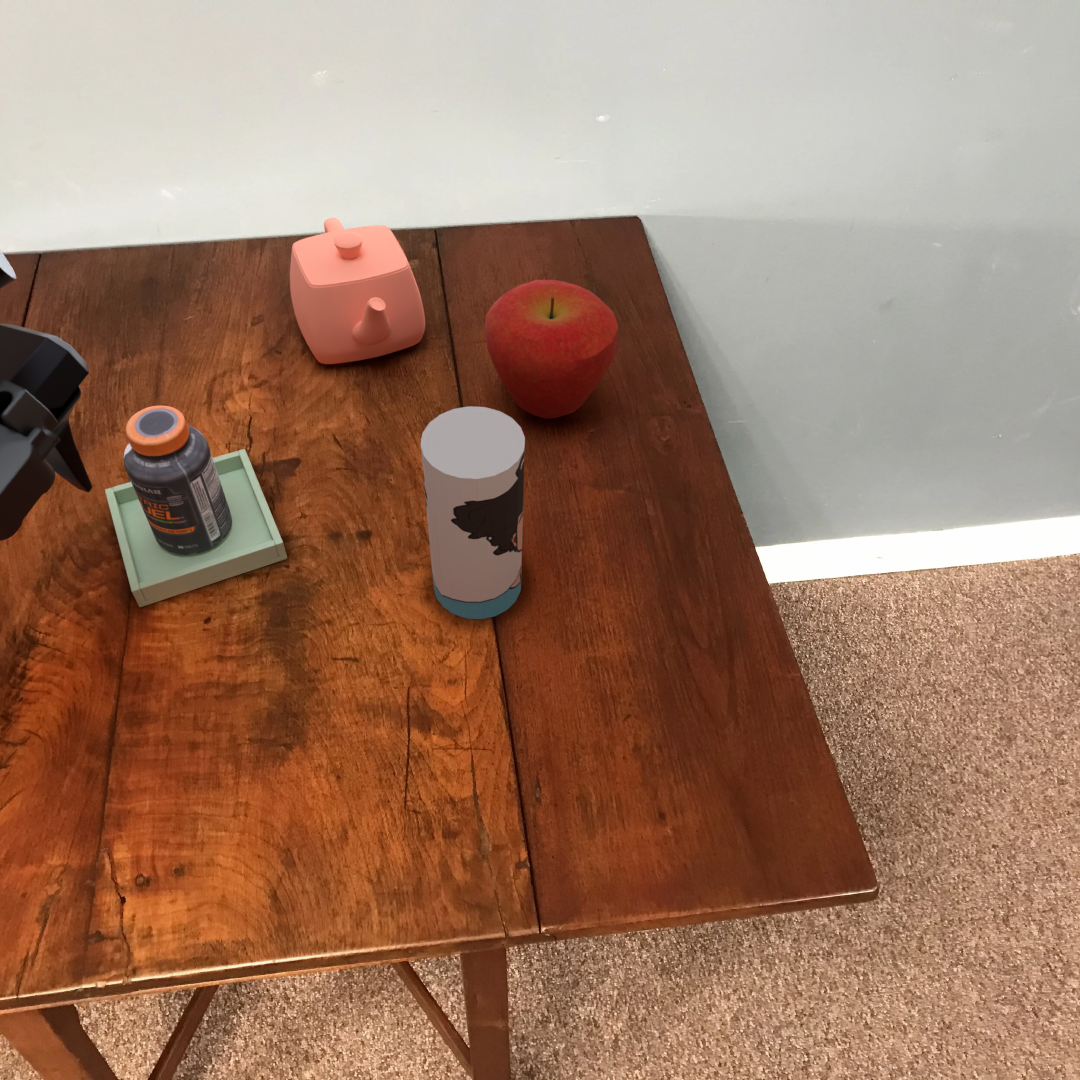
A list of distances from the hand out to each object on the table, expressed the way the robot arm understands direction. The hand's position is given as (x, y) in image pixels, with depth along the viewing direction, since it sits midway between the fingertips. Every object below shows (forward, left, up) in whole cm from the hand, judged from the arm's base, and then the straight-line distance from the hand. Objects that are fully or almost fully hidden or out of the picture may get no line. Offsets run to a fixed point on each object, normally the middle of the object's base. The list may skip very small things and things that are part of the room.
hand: (40, 549), depth 57 cm
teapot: (+29, +27, -12) cm, 41 cm away
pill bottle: (+9, +9, -12) cm, 17 cm away
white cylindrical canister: (+27, -5, -12) cm, 30 cm away
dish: (+9, +9, -12) cm, 17 cm away
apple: (+41, +11, -12) cm, 44 cm away
